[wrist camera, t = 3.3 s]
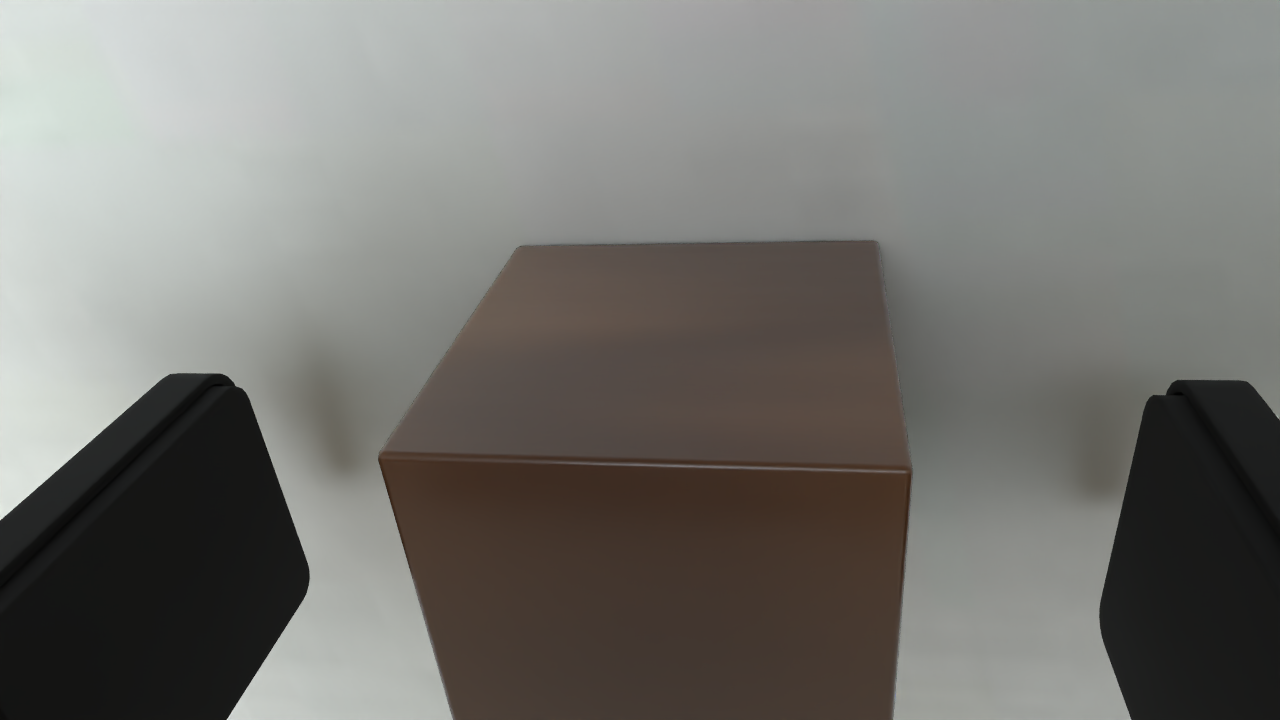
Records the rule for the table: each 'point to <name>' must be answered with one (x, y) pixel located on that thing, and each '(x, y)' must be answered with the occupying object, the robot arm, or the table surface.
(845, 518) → the block
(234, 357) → the table surface
